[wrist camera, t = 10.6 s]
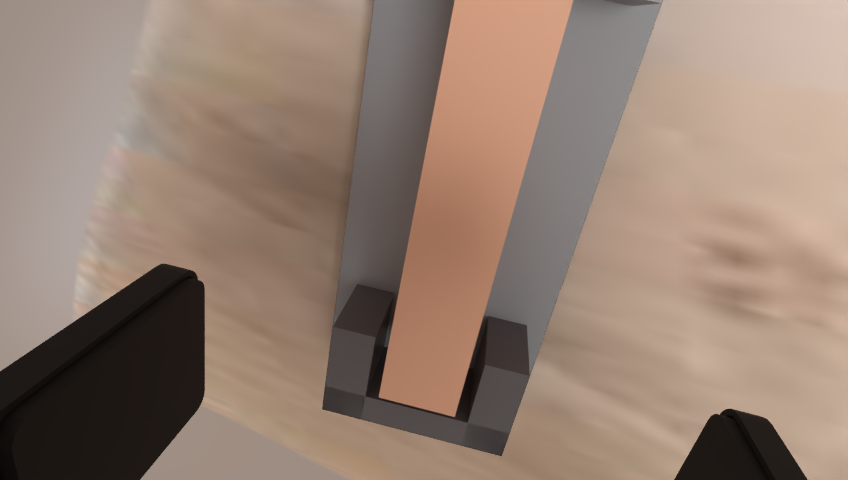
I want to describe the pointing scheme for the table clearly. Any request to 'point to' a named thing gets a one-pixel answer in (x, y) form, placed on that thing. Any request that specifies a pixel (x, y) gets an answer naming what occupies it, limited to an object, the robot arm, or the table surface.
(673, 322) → the table surface
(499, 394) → the end caps
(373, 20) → the board
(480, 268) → the slat
